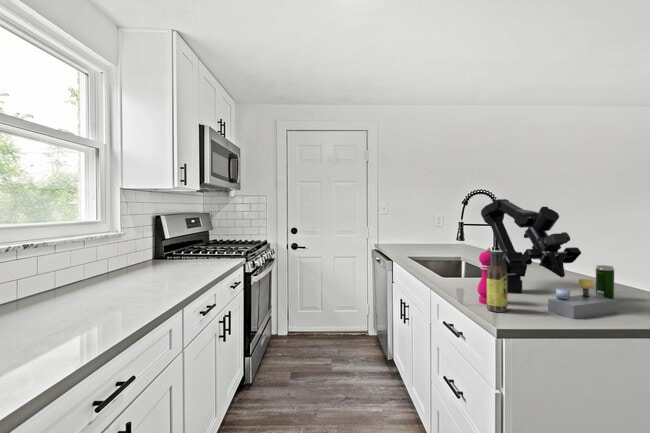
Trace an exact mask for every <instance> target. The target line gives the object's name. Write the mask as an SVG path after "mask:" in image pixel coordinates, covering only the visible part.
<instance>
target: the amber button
mask: <svg viewBox="0 0 650 433" xmlns="http://www.w3.org/2000/svg"><path fill="white" fill-rule="evenodd" d="M578 288H579V289H582V295H583V297H586V298H587V297H589V291H590V290H592V289H593V288H594V280H593V279H591V278H590V279H588V278H579V279H578Z"/></svg>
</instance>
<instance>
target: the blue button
mask: <svg viewBox="0 0 650 433" xmlns="http://www.w3.org/2000/svg"><path fill="white" fill-rule="evenodd" d="M570 296H571V290H570V289H568V288H558V287H557V288H555V298H560V300H566V299H570Z"/></svg>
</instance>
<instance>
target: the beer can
mask: <svg viewBox="0 0 650 433" xmlns="http://www.w3.org/2000/svg"><path fill="white" fill-rule="evenodd" d="M595 296H600V297H604V298H609V299H613V300H615V299H614V298H615V269H614V266H612V265H603V264H602V265H599V264H598V265H596V268H595Z"/></svg>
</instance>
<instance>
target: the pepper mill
mask: <svg viewBox="0 0 650 433" xmlns="http://www.w3.org/2000/svg"><path fill="white" fill-rule="evenodd" d="M484 249H485V250H484V251H482V252H481V253H480V254H479V256H478V261H479V262H480V269H481V279H480V280H479V282H478V285H477V293H478V294H479V296H478V302H479V303H480V304H483V303H484V304H483V305H487V270H488V268H489V267H490V265H491V263H490V262H491V256H490V251H491V247H489V246H487V247H485V248H484Z"/></svg>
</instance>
